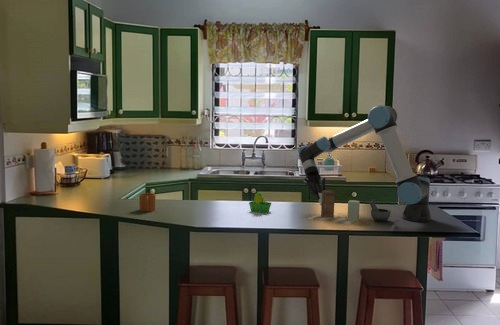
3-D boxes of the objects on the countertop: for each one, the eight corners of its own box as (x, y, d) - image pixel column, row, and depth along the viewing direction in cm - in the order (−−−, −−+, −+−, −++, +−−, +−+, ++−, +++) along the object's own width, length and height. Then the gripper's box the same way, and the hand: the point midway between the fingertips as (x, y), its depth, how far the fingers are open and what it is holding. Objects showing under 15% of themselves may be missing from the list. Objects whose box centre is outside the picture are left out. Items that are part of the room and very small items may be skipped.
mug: (135, 212, 291) (135, 196, 290) (142, 208, 303) (141, 193, 302) (151, 213, 290) (151, 196, 289) (157, 209, 302) (157, 193, 301)
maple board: (360, 222, 277) (360, 220, 277) (350, 227, 265) (350, 224, 265) (318, 216, 289) (318, 214, 289) (307, 221, 278) (307, 218, 277)
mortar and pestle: (388, 221, 281) (389, 199, 279) (391, 225, 271) (392, 202, 270) (367, 220, 282) (368, 198, 281) (368, 224, 273) (369, 201, 272)
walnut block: (321, 216, 284) (321, 190, 282) (329, 215, 285) (330, 190, 284) (325, 218, 279) (326, 191, 278) (333, 217, 281) (334, 191, 279)
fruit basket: (271, 211, 302) (272, 191, 301) (265, 214, 294) (266, 193, 293) (253, 209, 307) (254, 189, 306) (247, 211, 299) (247, 192, 298)
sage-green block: (358, 219, 277) (359, 200, 276) (357, 221, 272) (357, 202, 271) (349, 218, 279) (350, 200, 278) (347, 220, 274) (348, 201, 273)
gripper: (319, 173, 306) (331, 207, 292) (298, 173, 302) (309, 208, 288) (323, 165, 300) (335, 199, 286) (302, 165, 296) (313, 200, 282)
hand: (322, 204), depth 287 cm, fingers closed
